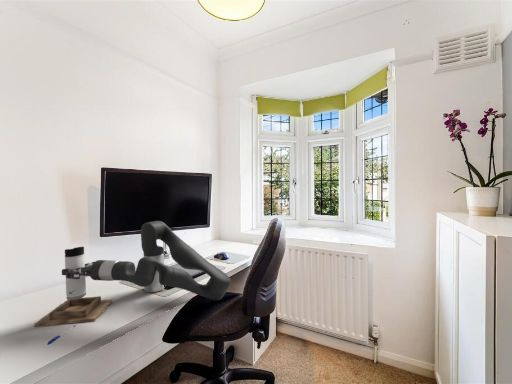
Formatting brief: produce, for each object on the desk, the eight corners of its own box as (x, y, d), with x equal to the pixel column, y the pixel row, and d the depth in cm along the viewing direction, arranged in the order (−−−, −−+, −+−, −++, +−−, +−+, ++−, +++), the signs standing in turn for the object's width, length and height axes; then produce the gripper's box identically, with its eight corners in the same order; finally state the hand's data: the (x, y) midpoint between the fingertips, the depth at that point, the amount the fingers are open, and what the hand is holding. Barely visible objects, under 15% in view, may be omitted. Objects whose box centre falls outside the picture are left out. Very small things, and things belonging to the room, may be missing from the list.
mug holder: (112, 301, 108) (112, 293, 108) (95, 321, 92) (94, 311, 92) (61, 305, 105) (61, 297, 105) (34, 326, 89) (34, 317, 89)
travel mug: (71, 301, 93) (69, 249, 93) (63, 298, 97) (61, 247, 96) (89, 295, 99) (87, 245, 98) (81, 292, 102) (79, 244, 102)
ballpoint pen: (49, 345, 78) (49, 342, 78) (46, 345, 78) (46, 342, 78) (75, 326, 89) (75, 324, 89) (73, 326, 89) (73, 324, 89)
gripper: (92, 287, 88) (53, 285, 91) (121, 273, 102) (86, 272, 105) (91, 266, 88) (52, 265, 91) (120, 255, 102) (85, 254, 105)
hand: (70, 269), depth 98 cm, fingers closed on travel mug, 6 cm apart
